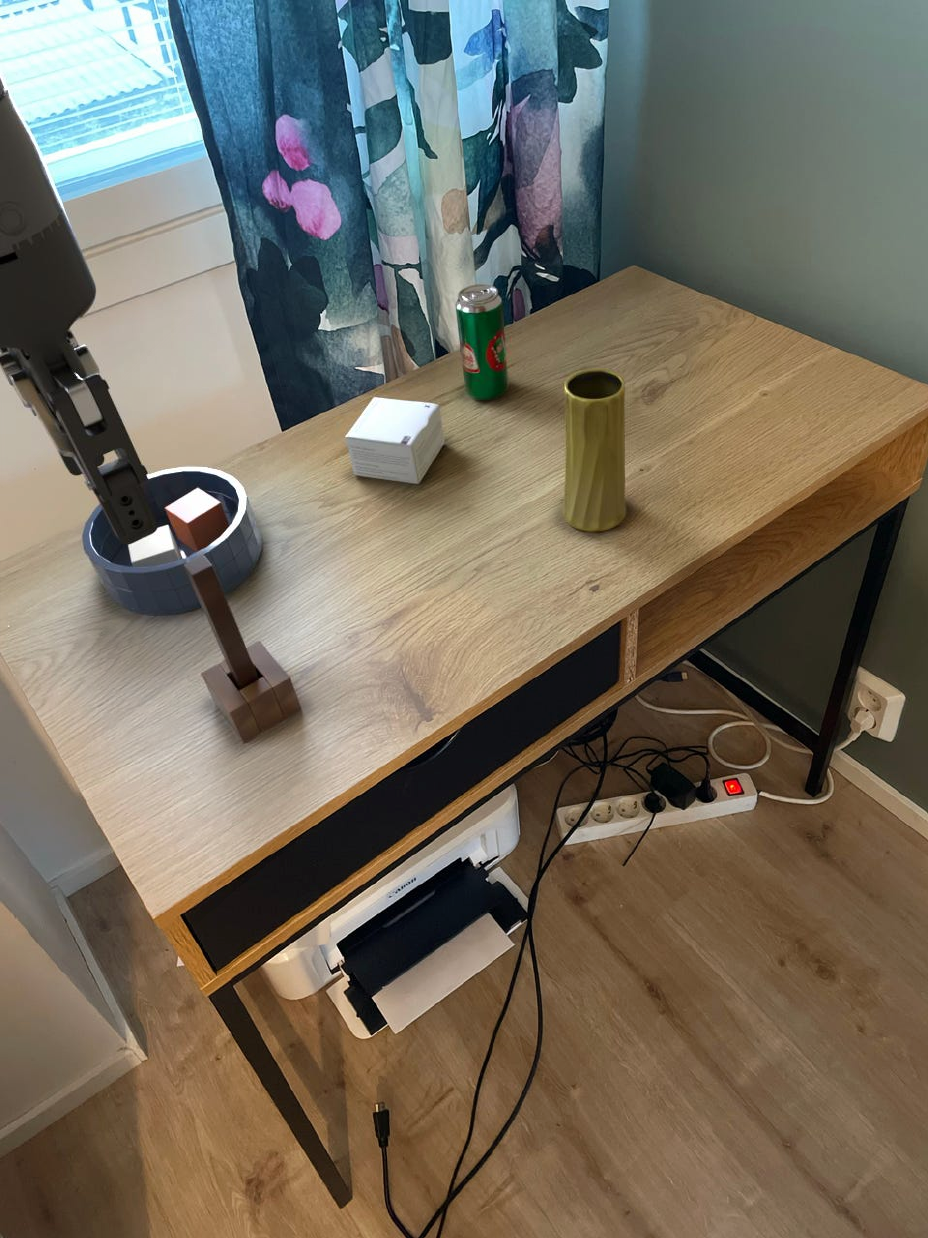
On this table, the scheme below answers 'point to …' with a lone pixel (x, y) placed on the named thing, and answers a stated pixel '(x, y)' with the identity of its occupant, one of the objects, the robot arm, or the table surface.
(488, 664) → the table surface
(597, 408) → the vase
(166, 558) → the cream block
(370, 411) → the small box
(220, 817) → the table surface
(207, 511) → the terracotta block
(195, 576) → the stirring stick
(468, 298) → the soda can
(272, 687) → the stick stand
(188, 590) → the bowl
